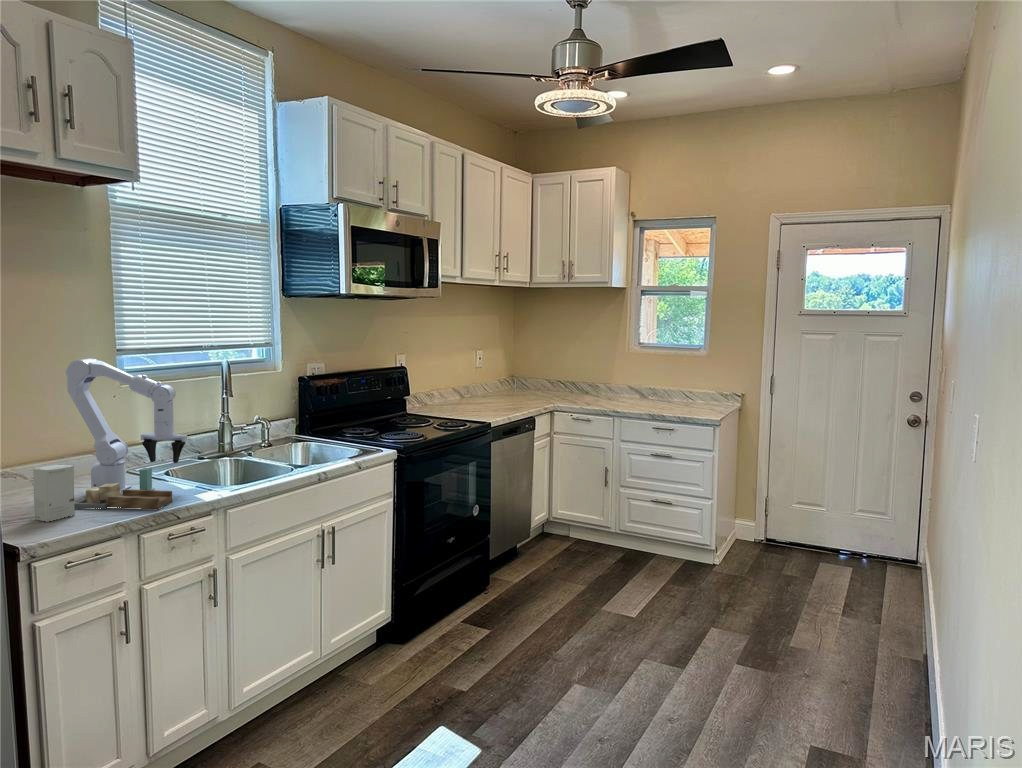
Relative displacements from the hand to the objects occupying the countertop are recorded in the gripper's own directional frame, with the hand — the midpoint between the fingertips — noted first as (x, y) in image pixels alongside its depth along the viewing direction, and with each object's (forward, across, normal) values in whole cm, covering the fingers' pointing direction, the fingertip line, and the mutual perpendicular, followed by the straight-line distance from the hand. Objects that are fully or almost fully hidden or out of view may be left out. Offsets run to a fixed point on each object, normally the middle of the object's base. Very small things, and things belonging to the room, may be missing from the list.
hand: (164, 462), depth 229 cm
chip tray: (+9, -11, -18) cm, 23 cm away
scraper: (+9, -2, -8) cm, 13 cm away
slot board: (+9, +2, -18) cm, 20 cm away
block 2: (+8, -8, -18) cm, 21 cm away
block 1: (+7, -10, -18) cm, 22 cm away
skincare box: (+10, -15, -33) cm, 37 cm away
